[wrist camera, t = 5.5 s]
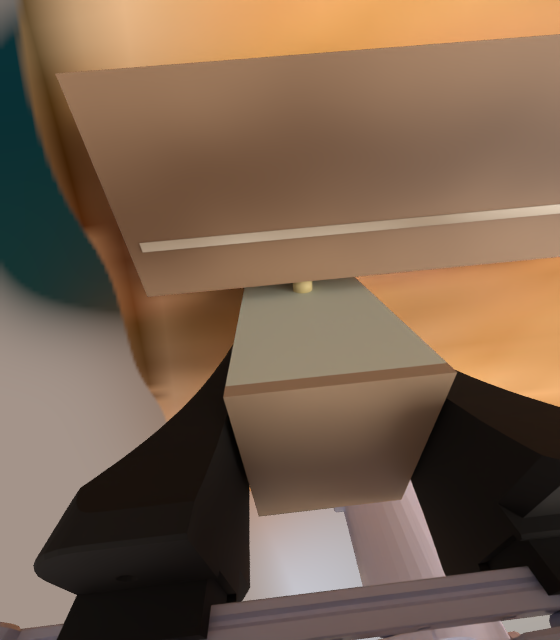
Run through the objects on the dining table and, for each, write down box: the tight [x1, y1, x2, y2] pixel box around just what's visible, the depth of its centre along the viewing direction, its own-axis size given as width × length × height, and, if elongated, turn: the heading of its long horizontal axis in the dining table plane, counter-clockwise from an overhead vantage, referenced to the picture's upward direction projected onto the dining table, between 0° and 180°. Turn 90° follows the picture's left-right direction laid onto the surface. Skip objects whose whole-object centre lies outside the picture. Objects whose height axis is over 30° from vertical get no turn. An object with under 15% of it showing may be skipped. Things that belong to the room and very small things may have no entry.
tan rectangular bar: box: [56, 34, 560, 297], centre depth 8 cm, size 6×20×3 cm, turn 94°
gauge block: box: [223, 277, 457, 516], centre depth 9 cm, size 6×5×7 cm
